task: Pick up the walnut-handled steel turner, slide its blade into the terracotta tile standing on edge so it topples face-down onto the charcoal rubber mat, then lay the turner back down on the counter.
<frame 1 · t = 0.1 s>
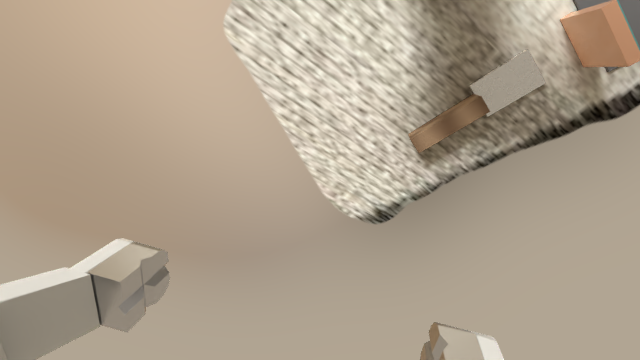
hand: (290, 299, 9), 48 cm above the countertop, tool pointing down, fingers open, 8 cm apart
tile: (577, 40, 43), on the countertop
turner: (443, 121, 51), on the countertop
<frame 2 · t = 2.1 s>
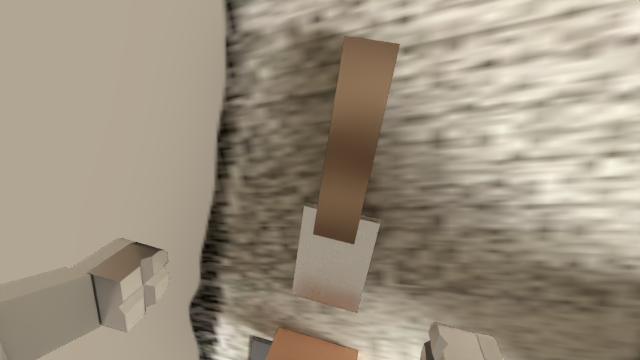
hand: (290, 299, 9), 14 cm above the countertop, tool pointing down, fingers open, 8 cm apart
tile: (316, 344, 29), on the countertop
turner: (357, 137, 21), on the countertop
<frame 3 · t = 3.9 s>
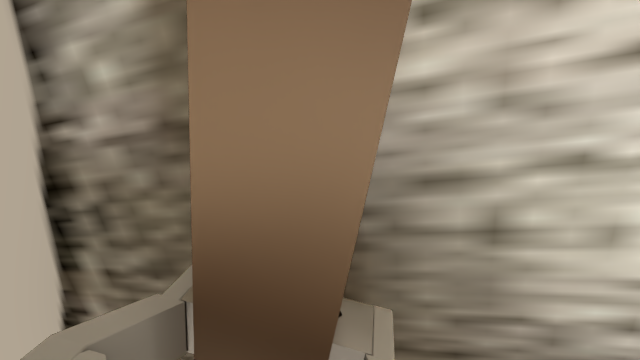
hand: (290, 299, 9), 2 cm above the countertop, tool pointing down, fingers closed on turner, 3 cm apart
turner: (312, 213, 10), on the countertop, touching gripper
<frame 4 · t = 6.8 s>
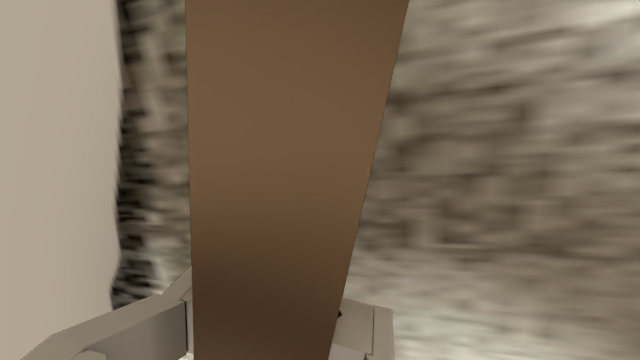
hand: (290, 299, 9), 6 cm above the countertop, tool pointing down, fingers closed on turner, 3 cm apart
turner: (312, 212, 10), point 5 cm above the countertop, touching gripper
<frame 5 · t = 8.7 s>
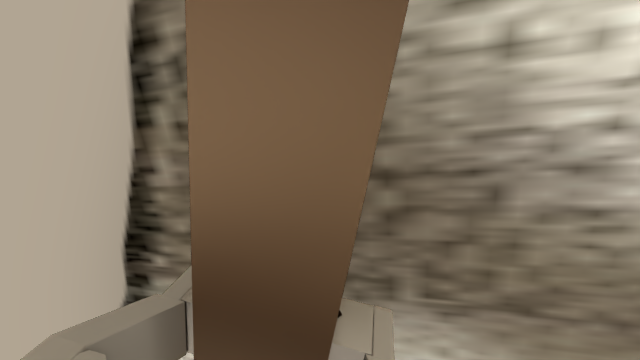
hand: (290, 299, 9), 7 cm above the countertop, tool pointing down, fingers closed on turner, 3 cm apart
turner: (312, 213, 10), point 5 cm above the countertop, touching gripper
when the fingers open (3 cm above the countertop, at t = 10.2 s): turner drops 1 cm, on the countertop.
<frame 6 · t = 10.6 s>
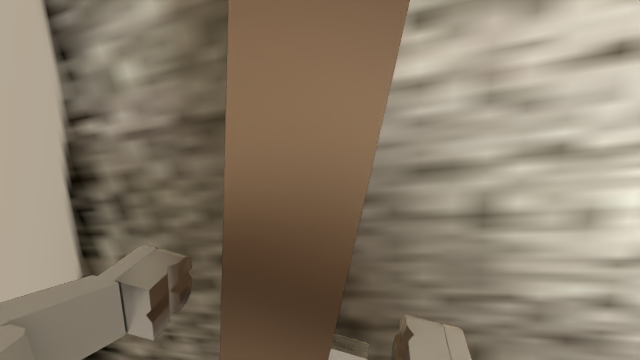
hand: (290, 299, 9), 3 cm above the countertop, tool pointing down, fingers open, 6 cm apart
turner: (320, 200, 11), on the countertop
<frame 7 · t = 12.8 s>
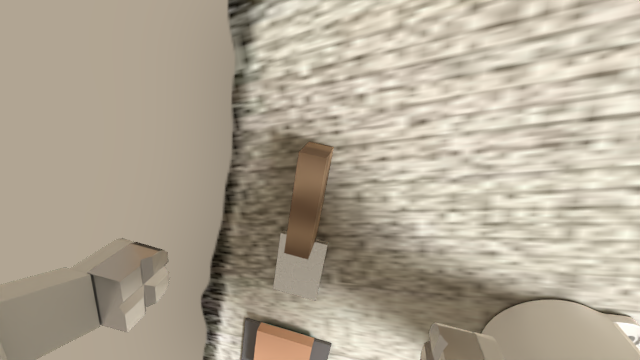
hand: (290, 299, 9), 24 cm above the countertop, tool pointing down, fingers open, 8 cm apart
tile: (285, 334, 42), point 1 cm above the countertop, tilted 90°, touching mat
turner: (312, 193, 35), on the countertop
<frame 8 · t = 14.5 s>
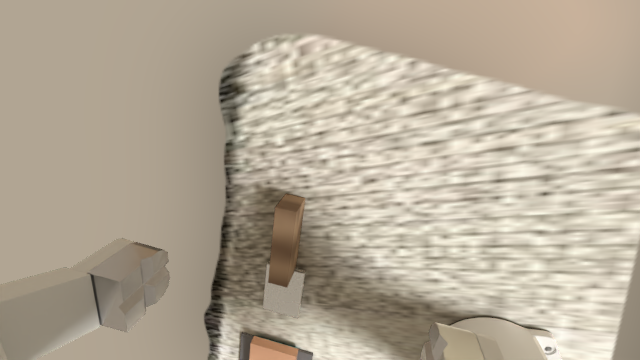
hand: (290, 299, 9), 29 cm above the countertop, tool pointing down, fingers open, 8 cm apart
tile: (274, 346, 50), point 1 cm above the countertop, tilted 90°, touching mat
turner: (291, 232, 43), on the countertop
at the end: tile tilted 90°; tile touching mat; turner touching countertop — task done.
